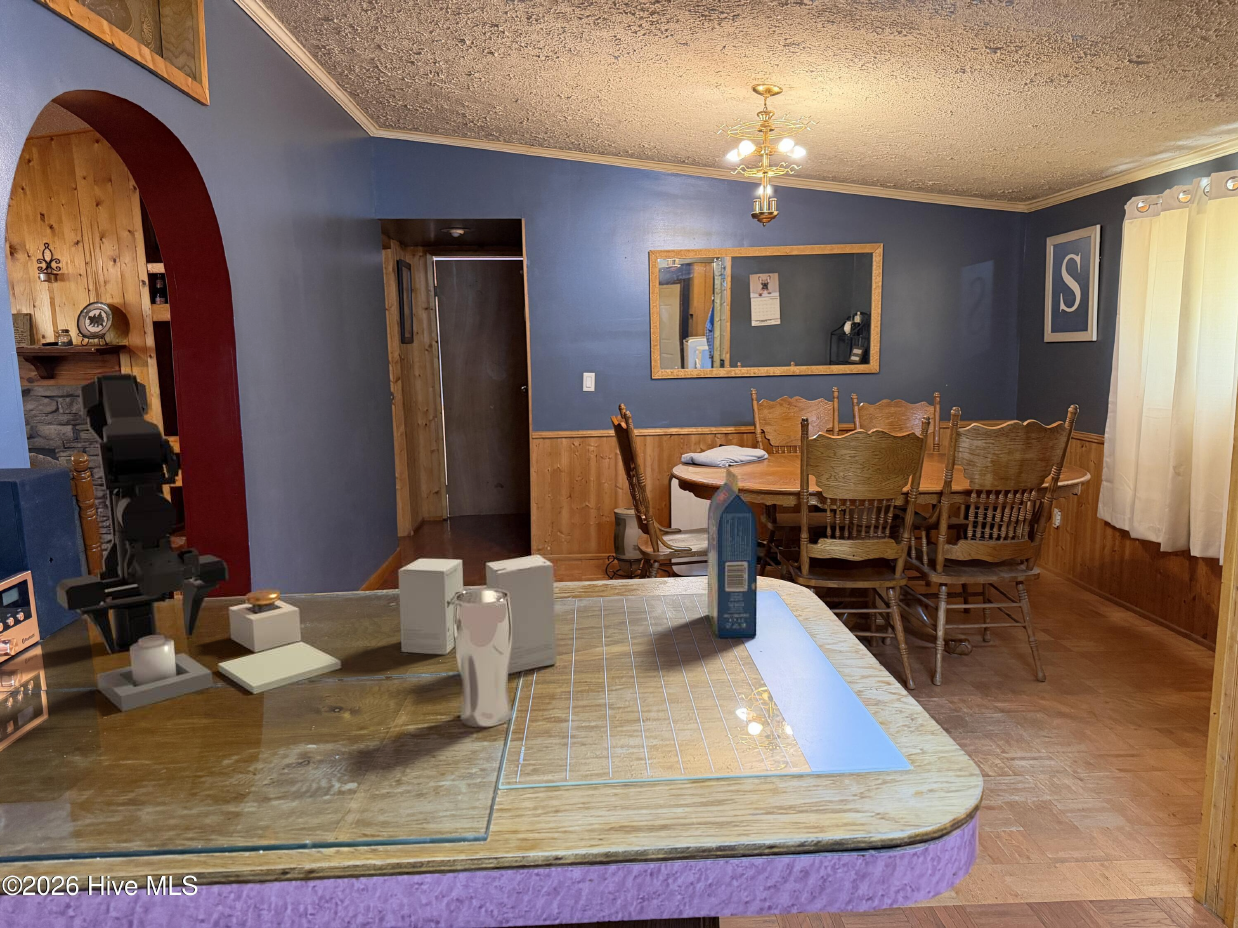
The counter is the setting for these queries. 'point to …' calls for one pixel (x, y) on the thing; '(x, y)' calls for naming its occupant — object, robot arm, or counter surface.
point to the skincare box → (528, 609)
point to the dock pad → (278, 667)
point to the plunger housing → (264, 626)
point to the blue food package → (732, 562)
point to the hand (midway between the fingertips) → (151, 643)
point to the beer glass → (483, 654)
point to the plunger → (262, 600)
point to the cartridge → (152, 659)
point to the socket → (154, 684)
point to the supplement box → (429, 604)
